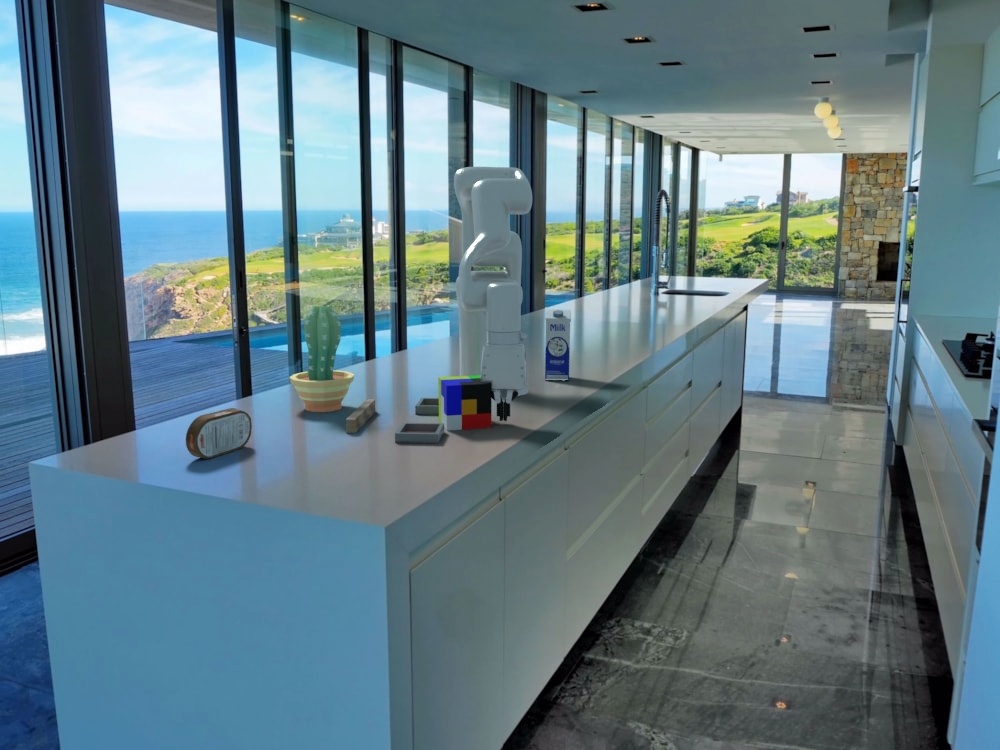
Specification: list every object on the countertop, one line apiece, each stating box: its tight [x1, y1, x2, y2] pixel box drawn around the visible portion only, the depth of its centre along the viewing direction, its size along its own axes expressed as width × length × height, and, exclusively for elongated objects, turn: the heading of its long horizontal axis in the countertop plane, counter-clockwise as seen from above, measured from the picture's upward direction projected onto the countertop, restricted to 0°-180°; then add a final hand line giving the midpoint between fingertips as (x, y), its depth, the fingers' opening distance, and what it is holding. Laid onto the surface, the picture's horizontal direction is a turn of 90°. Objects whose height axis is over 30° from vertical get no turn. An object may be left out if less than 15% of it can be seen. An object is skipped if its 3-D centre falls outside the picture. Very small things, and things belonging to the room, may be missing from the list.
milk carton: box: [544, 308, 572, 380], centre depth 234 cm, size 7×7×20 cm
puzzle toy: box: [437, 375, 492, 432], centre depth 183 cm, size 10×10×10 cm
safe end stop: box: [345, 398, 376, 434], centre depth 185 cm, size 20×2×3 cm, turn 176°
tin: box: [185, 407, 253, 460], centre depth 160 cm, size 15×3×8 cm, turn 152°
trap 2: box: [414, 397, 439, 416], centre depth 197 cm, size 9×9×2 cm
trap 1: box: [394, 422, 445, 445], centre depth 172 cm, size 9×9×2 cm
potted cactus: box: [288, 304, 355, 413], centre depth 197 cm, size 15×15×25 cm
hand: (503, 419), depth 183 cm, fingers closed
